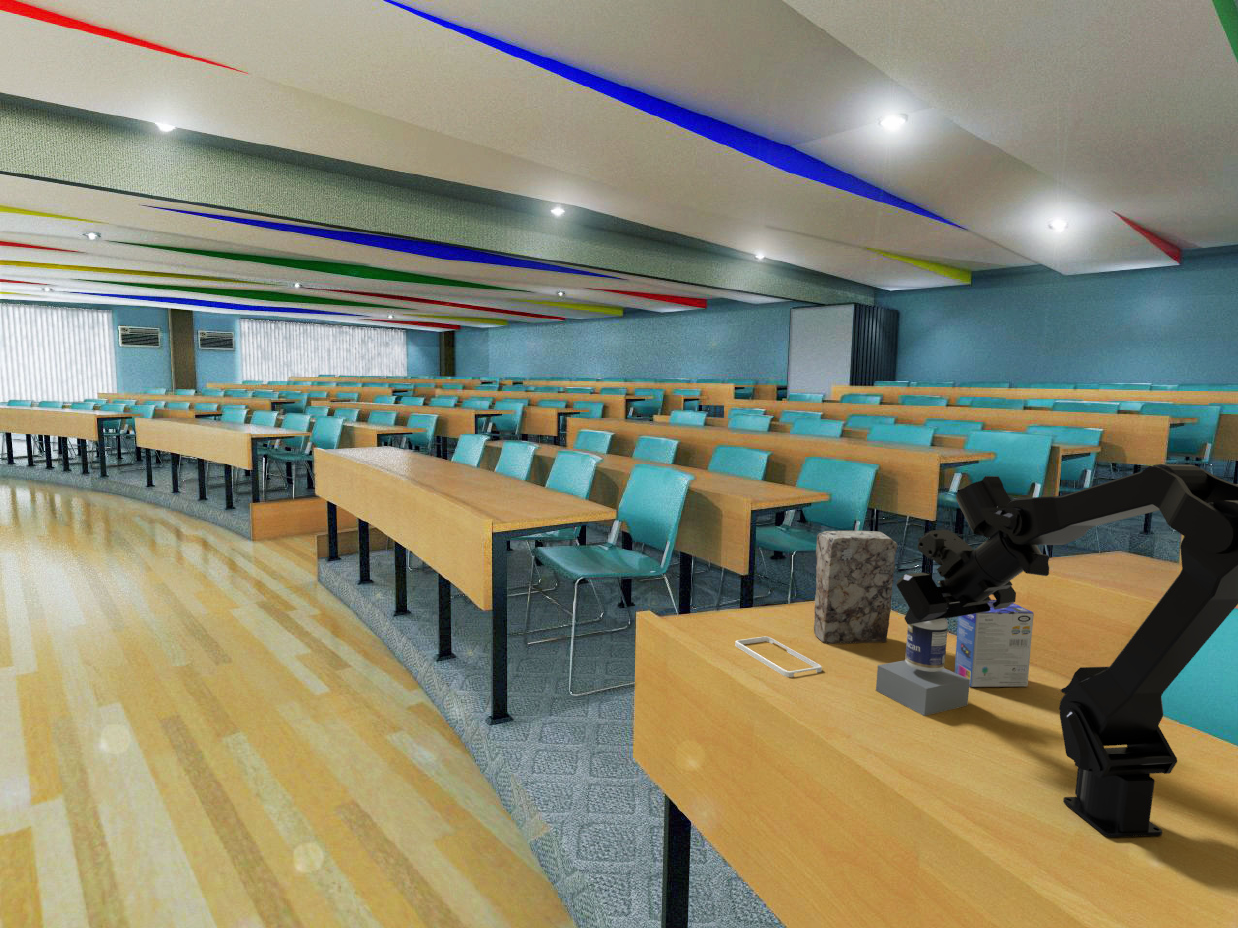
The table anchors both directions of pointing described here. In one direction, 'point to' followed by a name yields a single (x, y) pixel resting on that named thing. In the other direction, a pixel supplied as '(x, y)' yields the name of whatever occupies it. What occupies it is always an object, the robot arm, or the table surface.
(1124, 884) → the table surface
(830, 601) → the stone block
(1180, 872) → the table surface
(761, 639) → the phone case
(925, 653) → the pill bottle
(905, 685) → the slate block
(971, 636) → the ink cartridge box
